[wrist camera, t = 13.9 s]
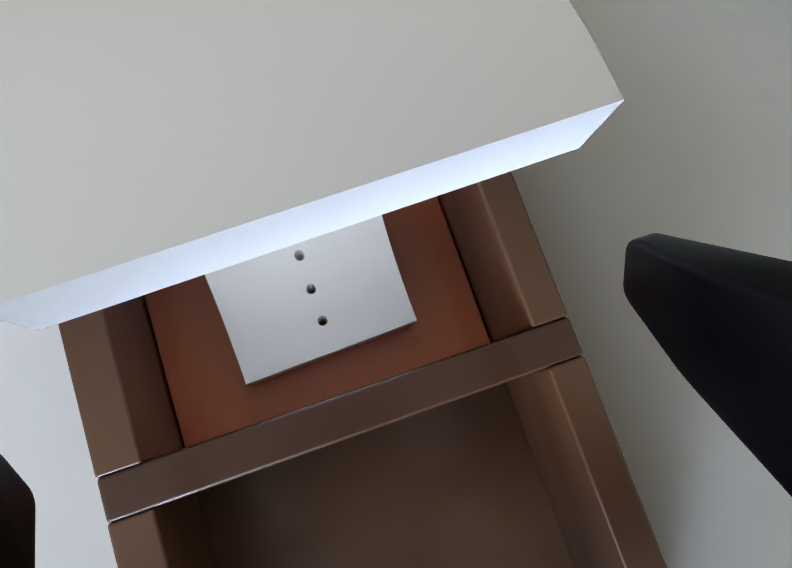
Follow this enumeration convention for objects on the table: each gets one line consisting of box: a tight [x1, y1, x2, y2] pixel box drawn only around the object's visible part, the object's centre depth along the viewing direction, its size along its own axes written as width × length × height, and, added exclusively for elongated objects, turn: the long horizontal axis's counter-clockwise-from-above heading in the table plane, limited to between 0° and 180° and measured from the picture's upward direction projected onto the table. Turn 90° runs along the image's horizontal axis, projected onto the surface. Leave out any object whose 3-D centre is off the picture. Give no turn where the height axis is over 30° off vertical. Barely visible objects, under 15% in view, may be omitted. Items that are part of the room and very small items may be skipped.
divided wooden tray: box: [58, 171, 667, 568], centre depth 14 cm, size 20×10×4 cm, turn 19°
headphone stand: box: [0, 0, 624, 386], centre depth 10 cm, size 5×6×12 cm
